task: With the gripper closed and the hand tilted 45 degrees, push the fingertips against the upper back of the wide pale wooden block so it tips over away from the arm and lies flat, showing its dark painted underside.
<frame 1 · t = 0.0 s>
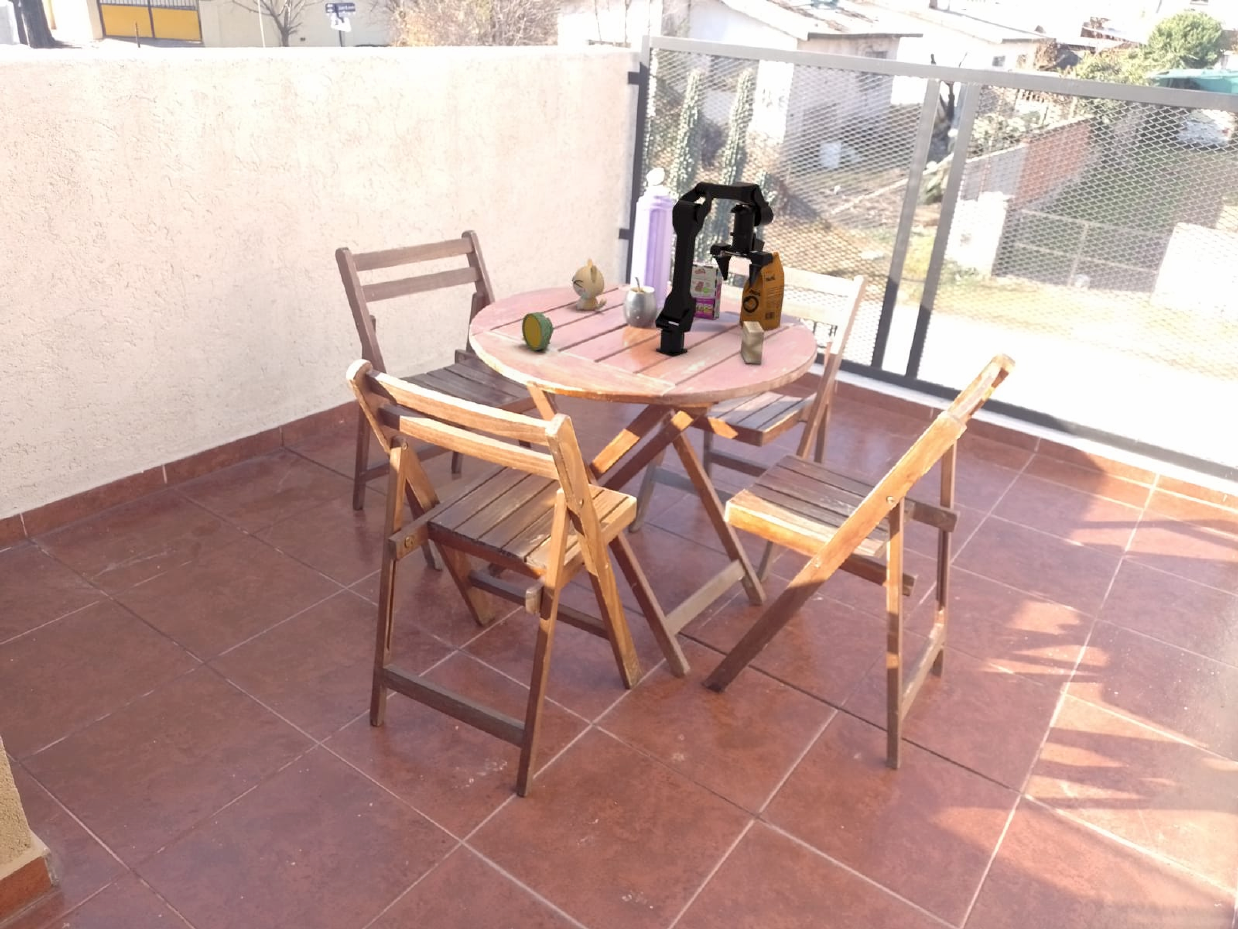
hand: (738, 283, 260), 15 cm above the table, tool pointing down, fingers open, 9 cm apart
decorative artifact: (542, 348, 246), on the table
kitten: (587, 309, 284), on the table
marked block: (750, 358, 245), on the table
candy bar box: (700, 316, 282), on the table
coffee package: (759, 327, 274), on the table
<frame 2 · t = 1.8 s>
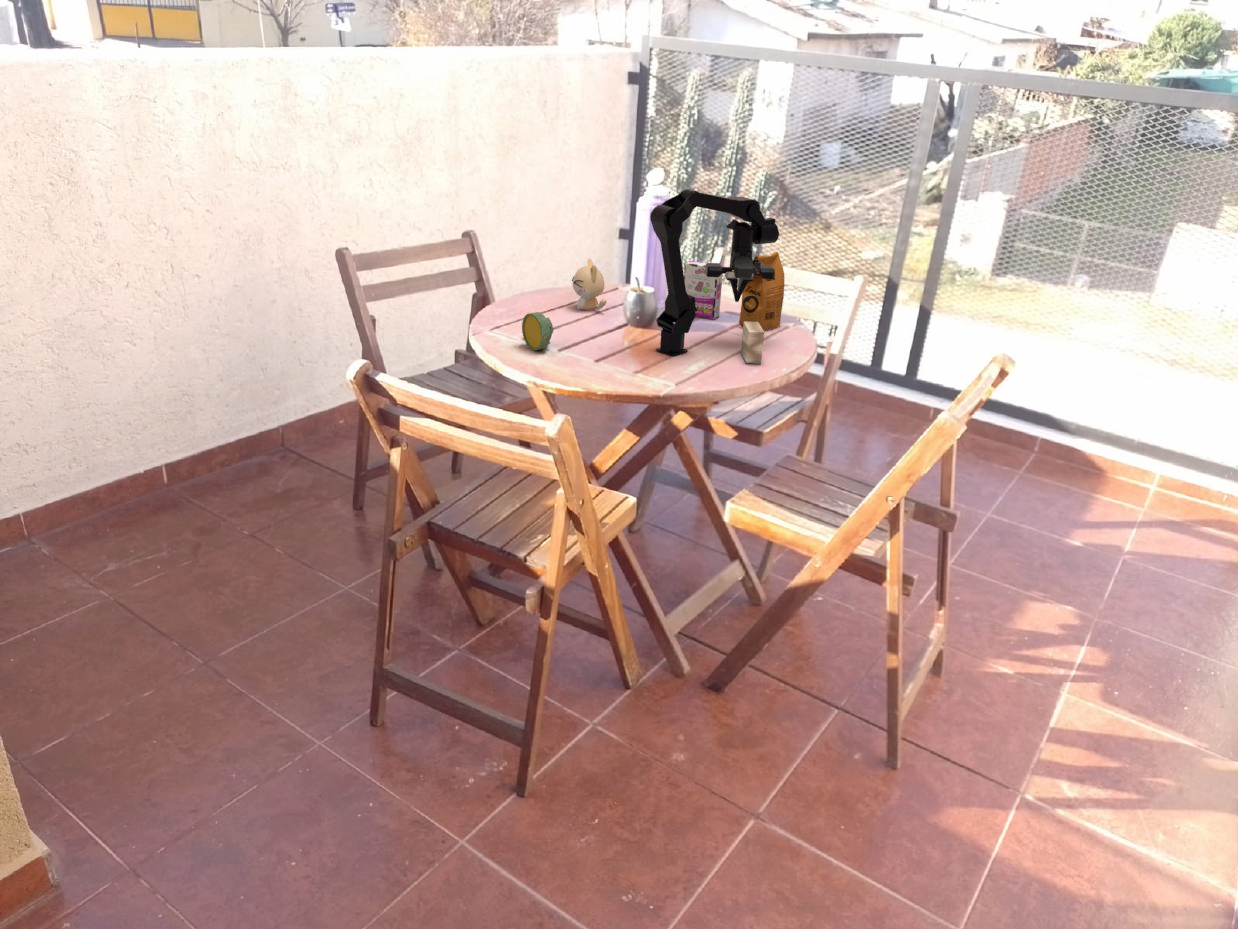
hand: (736, 301, 252), 12 cm above the table, tool pointing down, fingers closed
nothing on the table moved.
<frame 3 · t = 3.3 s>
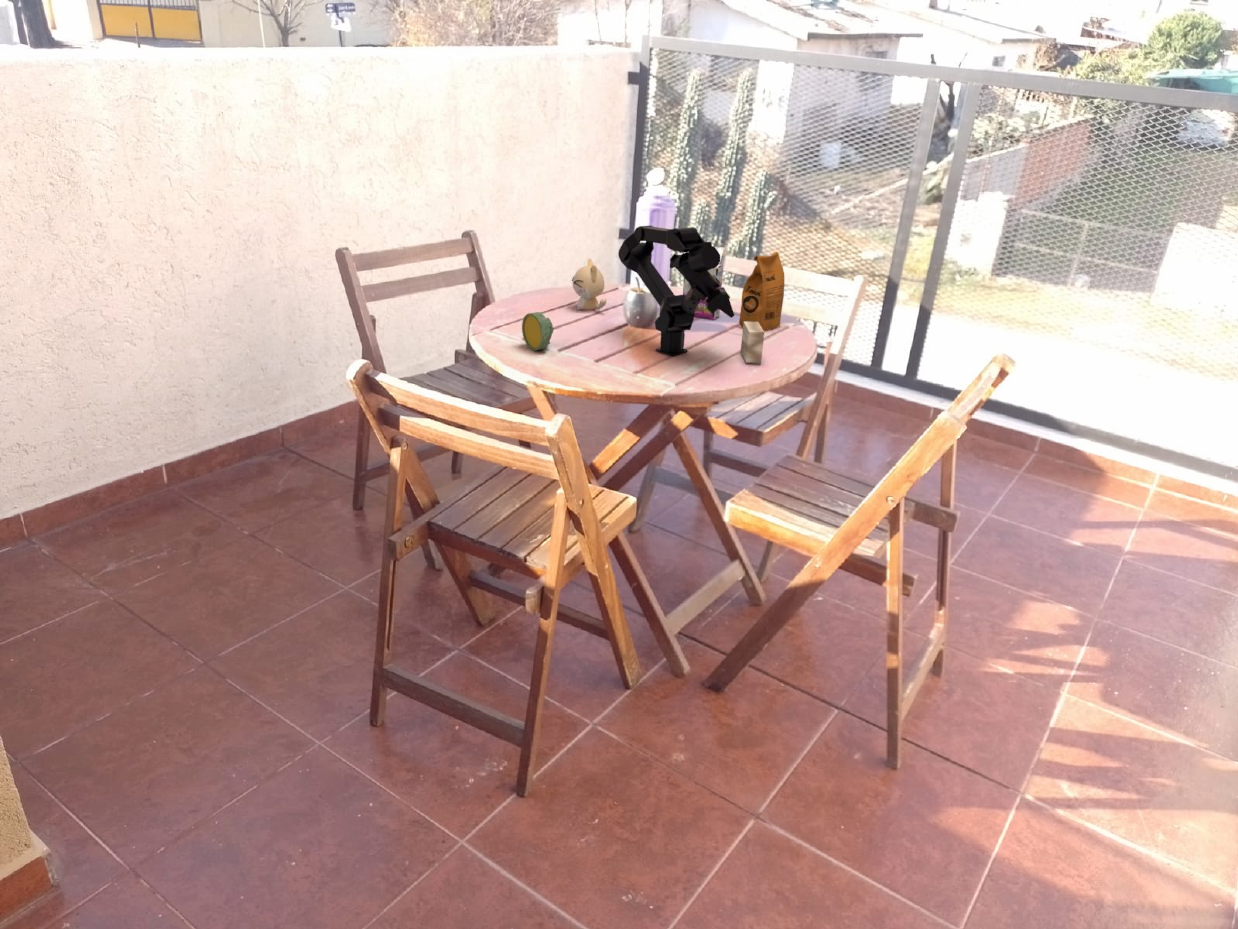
hand: (732, 316, 240), 11 cm above the table, tool tilted 45°, fingers closed
nothing on the table moved.
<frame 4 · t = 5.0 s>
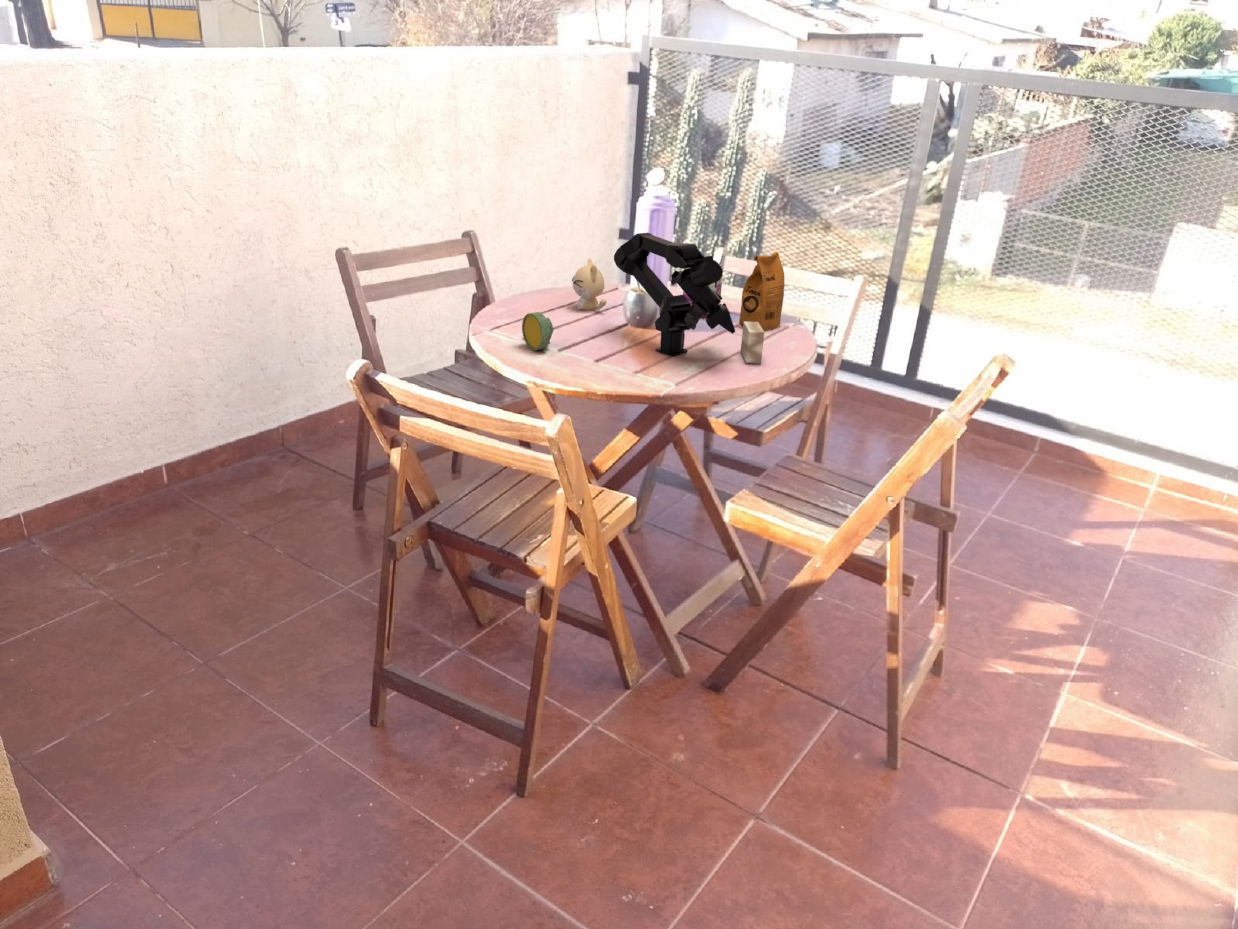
hand: (733, 332, 241), 7 cm above the table, tool tilted 45°, fingers closed
nothing on the table moved.
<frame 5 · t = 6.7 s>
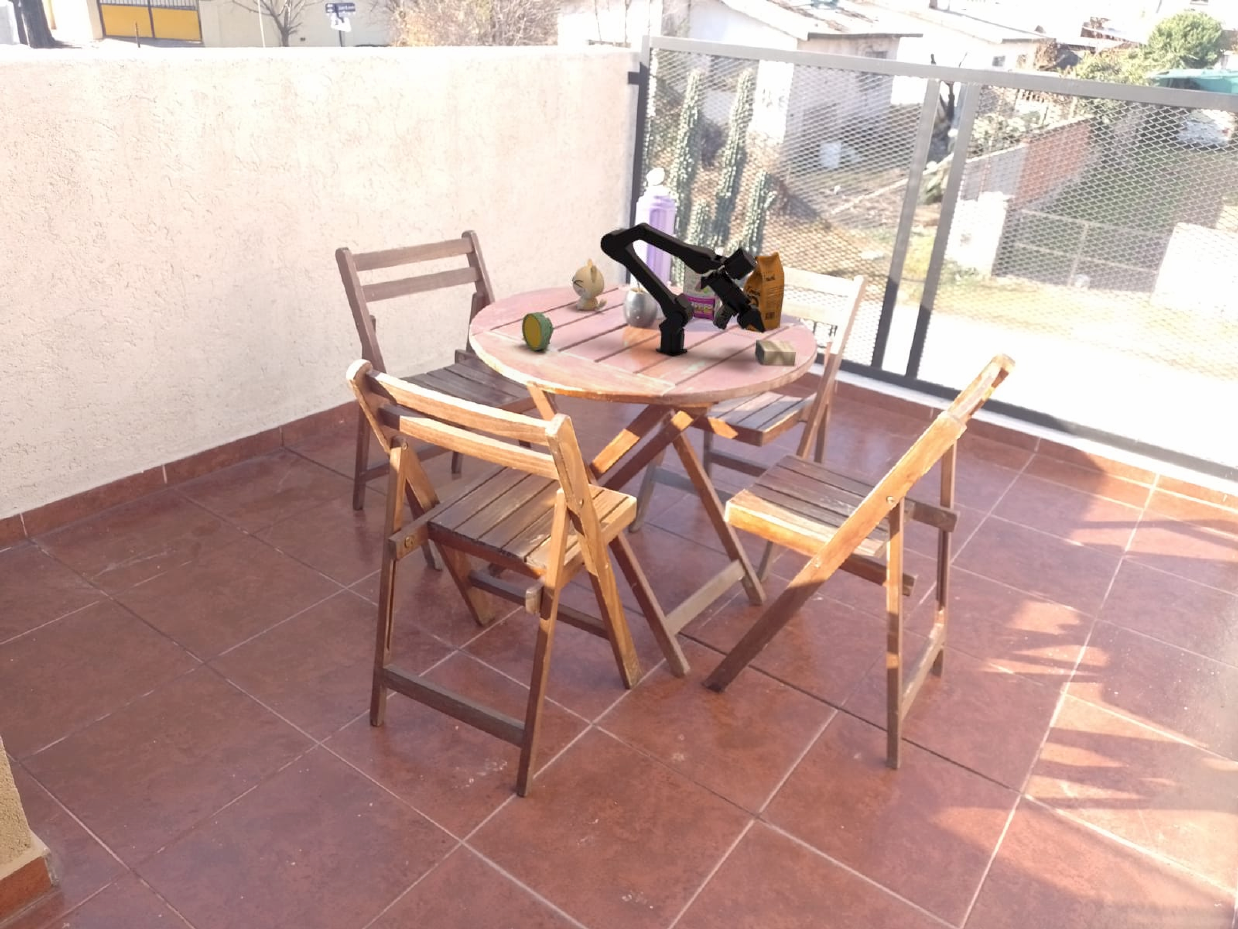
hand: (764, 331, 241), 8 cm above the table, tool tilted 45°, fingers closed
marked block: (758, 352, 244), point 2 cm above the table, tilted 90°
everything else where it was.
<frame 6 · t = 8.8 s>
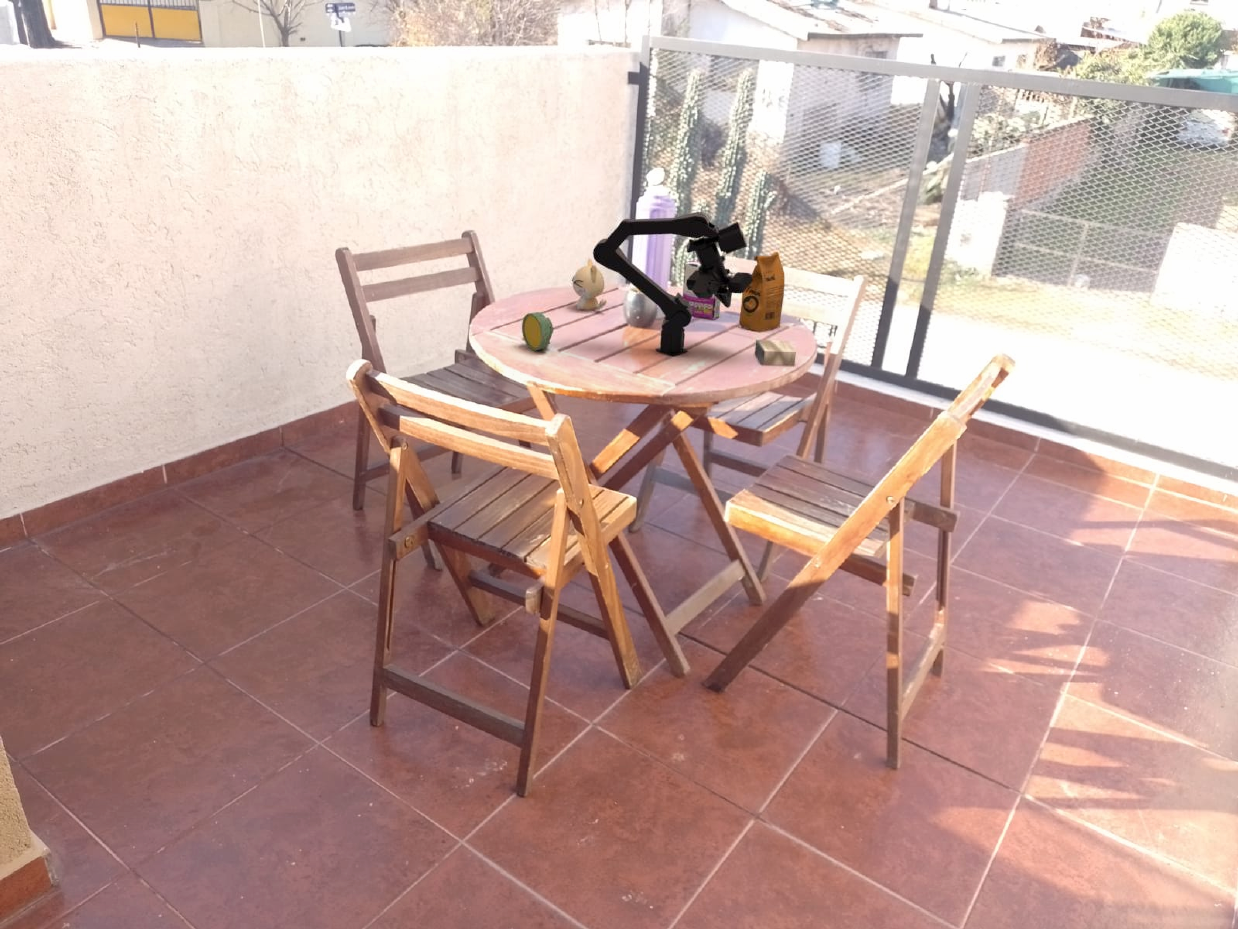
hand: (728, 306, 246), 12 cm above the table, tool tilted 30°, fingers closed
nothing on the table moved.
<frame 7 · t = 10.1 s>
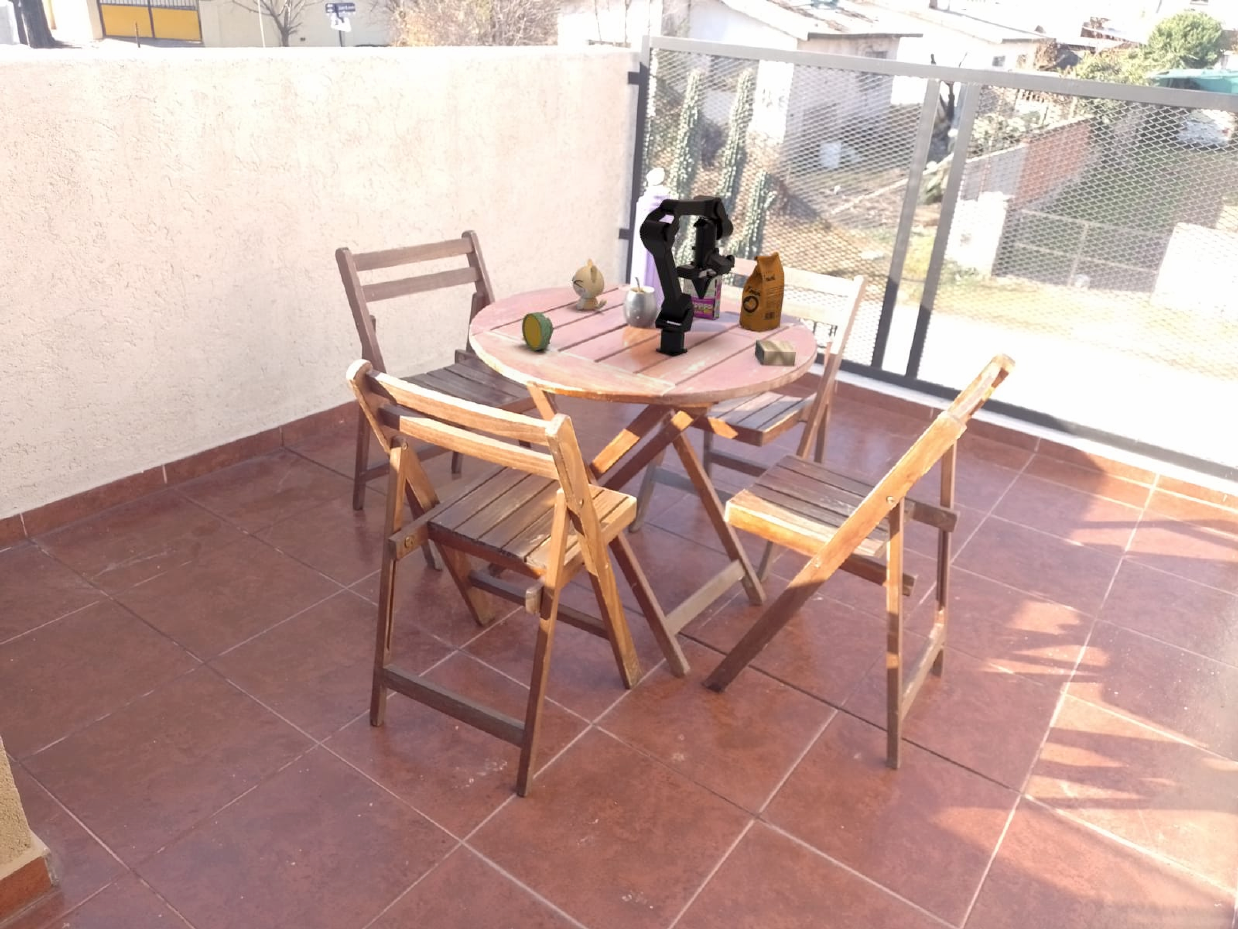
hand: (701, 299, 253), 12 cm above the table, tool pointing down, fingers closed
nothing on the table moved.
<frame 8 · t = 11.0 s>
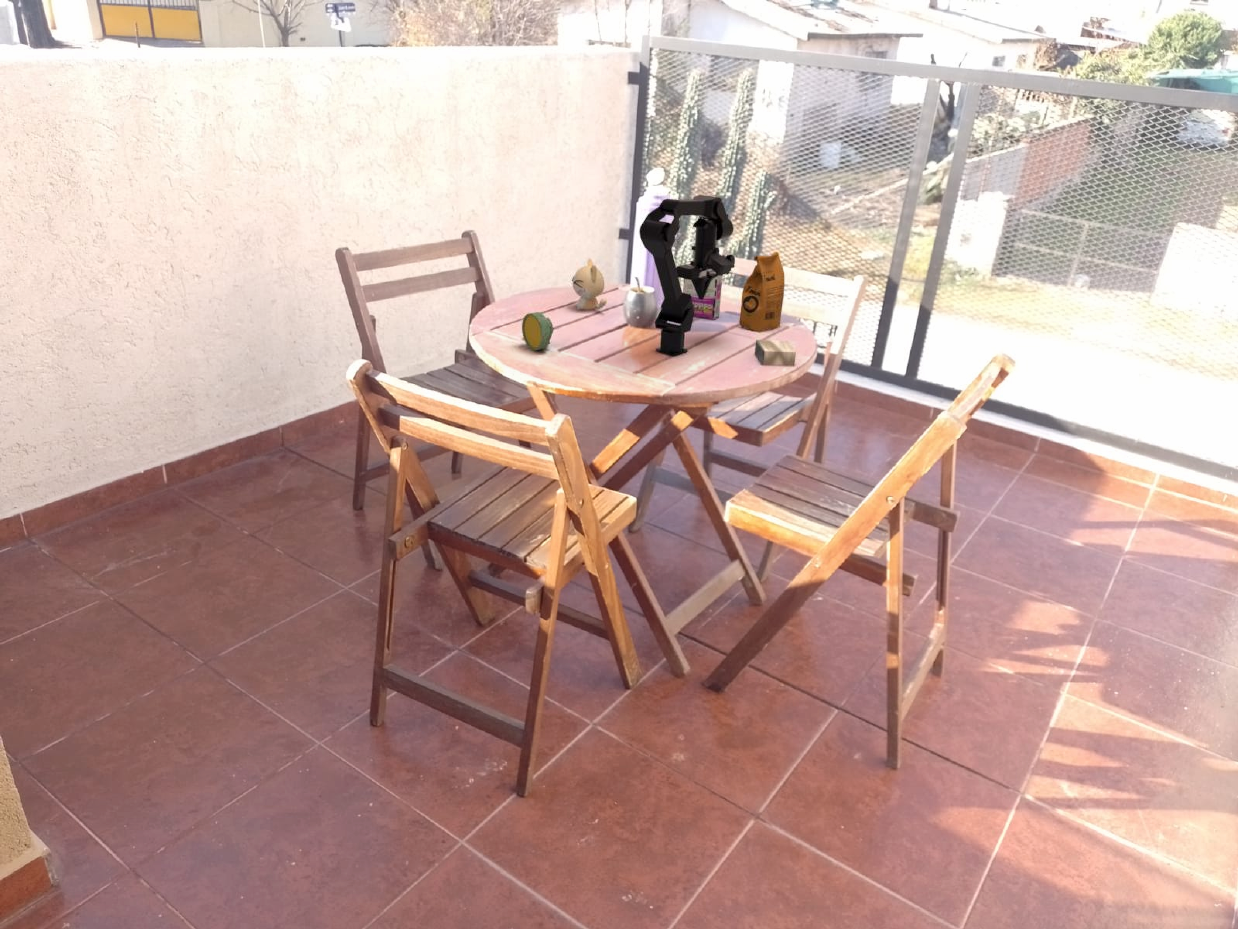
hand: (701, 299, 253), 12 cm above the table, tool pointing down, fingers closed
nothing on the table moved.
at the end: marked block tilted 90°; marked block inside the target area (0.4 cm from its centre), point 1.8 cm above the table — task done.
